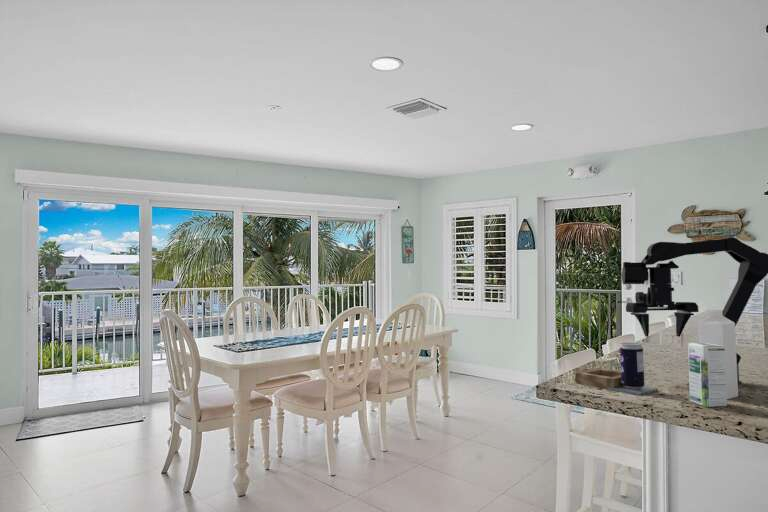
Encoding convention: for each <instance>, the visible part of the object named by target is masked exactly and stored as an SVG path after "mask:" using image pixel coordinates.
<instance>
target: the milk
mask: <svg viewBox="0 0 768 512" xmlns="http://www.w3.org/2000/svg"><path fill="white" fill-rule="evenodd" d="M722 311H723V309H719V310H718V309H717V310H710V311H709V312H708V313H709V316H708V317H706V318H705V319H702V320H700V321H698V324H697V325H698V343H709V344H715V345H720V346H725V364H726V392H727V400H729V399H734V398H737V397H739V384H738V381H737V359H736V353H737V345H736V343H737V342H736V326H735V323H734V322H733V321H731V320H729V319H727V318H726V317H724V316H723V315H722Z"/></svg>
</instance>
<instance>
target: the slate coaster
mask: <svg viewBox="0 0 768 512" xmlns="http://www.w3.org/2000/svg"><path fill="white" fill-rule="evenodd" d="M607 390H609V391H614V392H620V393H624V394H630V395H634V394H635V396H639V395H640V396H643V395H646V393H647V394H650V392H651V393H654V392H653V391H655V392H657V391H656V390H658V388H657V387H651V386H650V387H649V386H647V385H646V386H645V385H644V386H643V387H642V388H641V389H627V388H625V387H624V386H620V387H616V388H611V387H608V389H607ZM642 394H643V395H642Z"/></svg>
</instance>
